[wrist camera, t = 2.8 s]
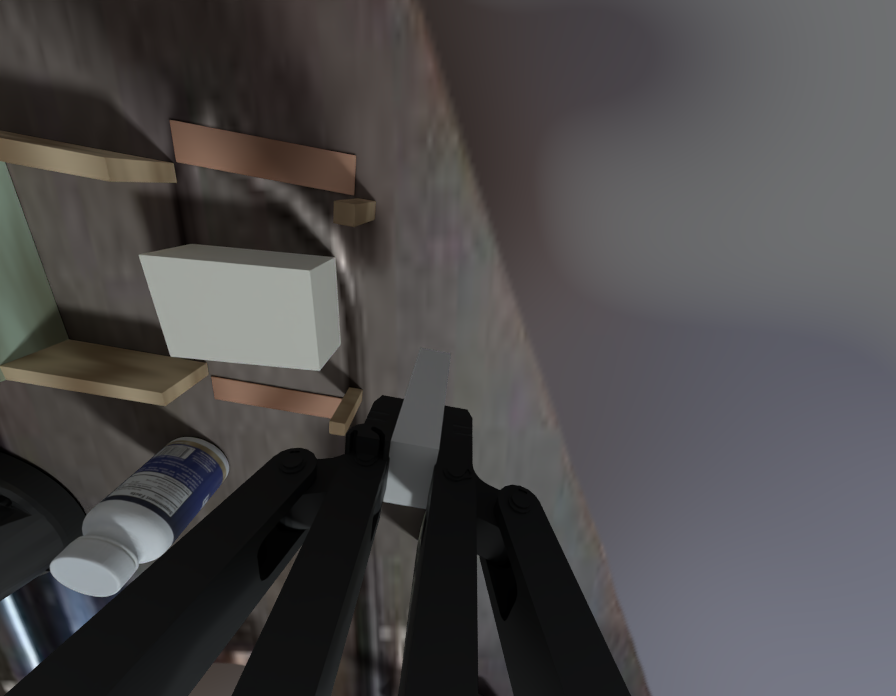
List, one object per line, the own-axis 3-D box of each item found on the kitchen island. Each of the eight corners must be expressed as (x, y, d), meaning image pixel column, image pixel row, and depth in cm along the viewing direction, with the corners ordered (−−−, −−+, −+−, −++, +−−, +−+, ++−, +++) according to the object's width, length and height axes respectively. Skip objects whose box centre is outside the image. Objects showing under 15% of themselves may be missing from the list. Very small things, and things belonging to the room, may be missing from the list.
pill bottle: (213, 490, 30) (111, 614, 22) (157, 457, 29) (23, 575, 20) (243, 460, 29) (144, 581, 20) (185, 423, 27) (50, 536, 18)
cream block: (215, 330, 24) (170, 356, 20) (194, 243, 21) (138, 254, 17) (342, 342, 24) (319, 370, 20) (336, 256, 21) (309, 270, 17)
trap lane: (66, 373, 25) (-42, 422, 20) (-48, 78, 18) (-275, 29, 12) (360, 422, 26) (332, 483, 21) (378, 160, 18) (342, 148, 13)
